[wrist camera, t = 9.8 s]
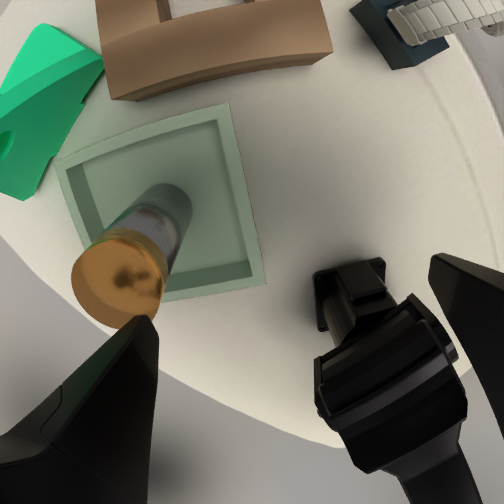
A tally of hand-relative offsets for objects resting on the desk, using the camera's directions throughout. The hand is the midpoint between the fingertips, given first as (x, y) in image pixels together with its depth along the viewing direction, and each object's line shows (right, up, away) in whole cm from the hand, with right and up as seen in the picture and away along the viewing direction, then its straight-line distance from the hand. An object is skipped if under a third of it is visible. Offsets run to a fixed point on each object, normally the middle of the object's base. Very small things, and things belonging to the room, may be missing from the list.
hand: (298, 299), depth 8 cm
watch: (+9, +18, +6) cm, 21 cm away
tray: (-7, +5, +12) cm, 15 cm away
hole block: (-4, +18, +5) cm, 19 cm away
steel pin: (-7, +4, +11) cm, 14 cm away
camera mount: (-18, +13, +8) cm, 23 cm away
